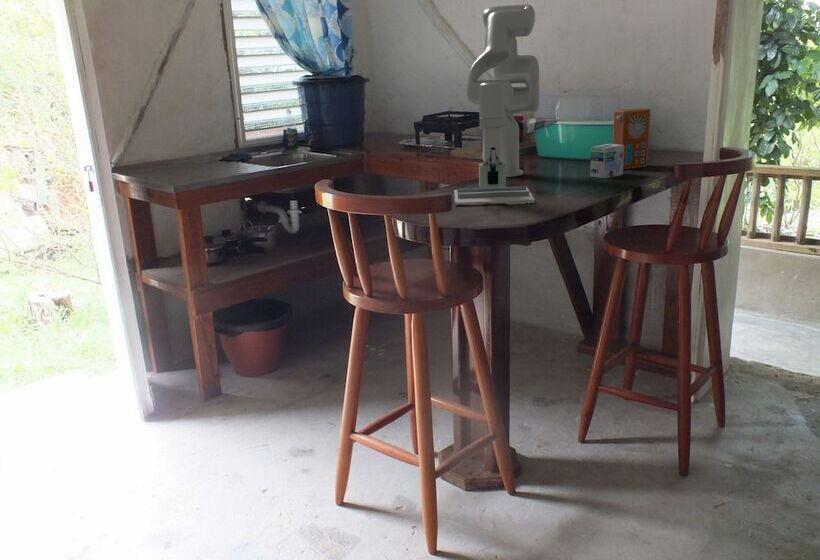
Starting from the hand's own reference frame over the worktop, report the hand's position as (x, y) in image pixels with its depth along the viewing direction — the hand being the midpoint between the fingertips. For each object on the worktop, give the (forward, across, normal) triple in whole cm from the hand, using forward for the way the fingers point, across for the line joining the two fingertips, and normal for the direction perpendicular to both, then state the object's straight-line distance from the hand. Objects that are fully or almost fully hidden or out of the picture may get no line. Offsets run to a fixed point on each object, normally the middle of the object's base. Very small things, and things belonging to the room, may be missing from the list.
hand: (492, 182), depth 217 cm
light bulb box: (+5, -33, +43) cm, 55 cm away
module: (+1, 0, 0) cm, 1 cm away
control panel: (+5, -49, +55) cm, 74 cm away
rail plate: (+5, 0, 0) cm, 5 cm away
